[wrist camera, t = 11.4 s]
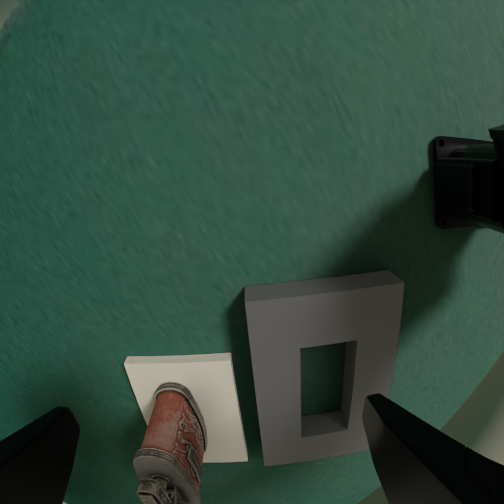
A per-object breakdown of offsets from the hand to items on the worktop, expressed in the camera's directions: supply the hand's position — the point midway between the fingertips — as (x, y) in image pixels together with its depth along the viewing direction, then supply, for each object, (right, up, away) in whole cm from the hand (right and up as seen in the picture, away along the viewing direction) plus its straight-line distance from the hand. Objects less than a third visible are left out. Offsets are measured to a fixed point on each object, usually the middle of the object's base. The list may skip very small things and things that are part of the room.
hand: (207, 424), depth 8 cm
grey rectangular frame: (+6, -5, +15) cm, 17 cm away
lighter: (-4, -9, +15) cm, 18 cm away
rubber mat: (-4, -9, +16) cm, 18 cm away
